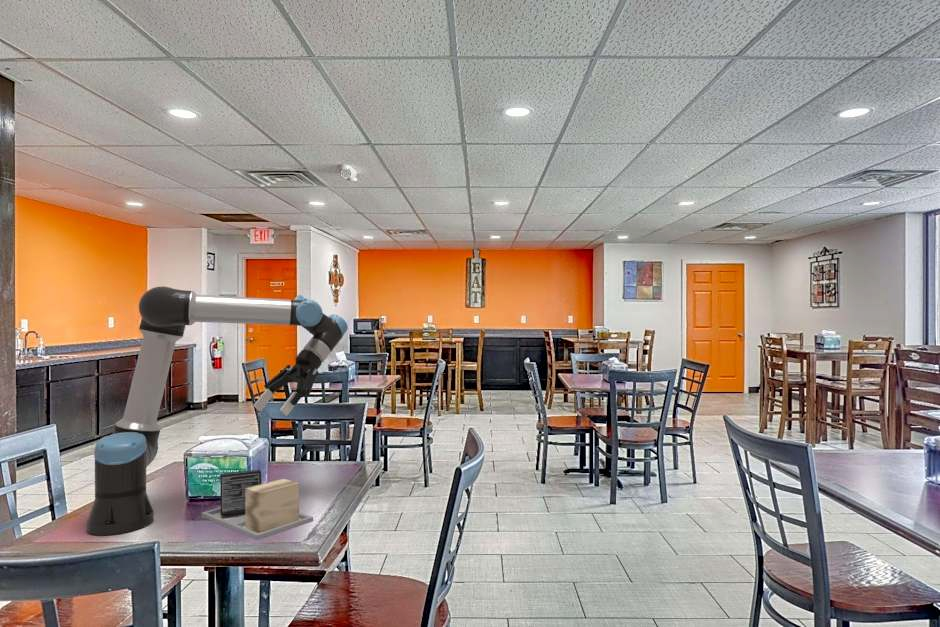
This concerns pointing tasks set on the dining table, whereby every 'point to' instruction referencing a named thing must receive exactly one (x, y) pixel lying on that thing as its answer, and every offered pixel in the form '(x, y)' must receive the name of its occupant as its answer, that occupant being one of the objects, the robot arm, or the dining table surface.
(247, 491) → the block
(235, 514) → the tray
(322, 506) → the dining table surface
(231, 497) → the small box
